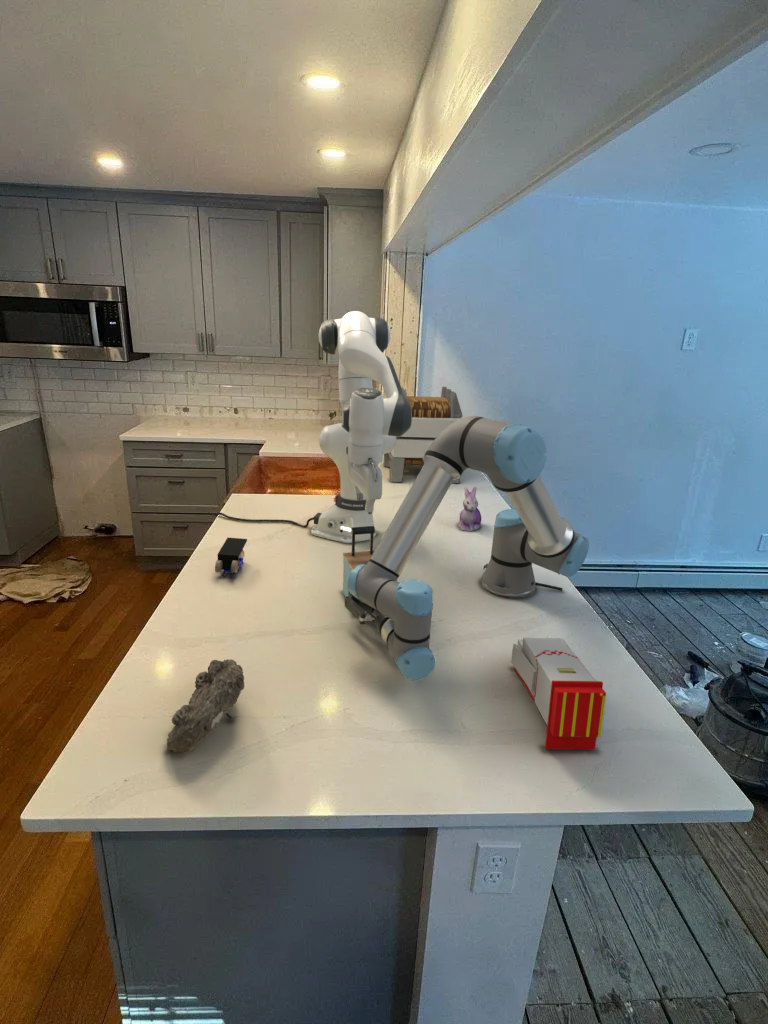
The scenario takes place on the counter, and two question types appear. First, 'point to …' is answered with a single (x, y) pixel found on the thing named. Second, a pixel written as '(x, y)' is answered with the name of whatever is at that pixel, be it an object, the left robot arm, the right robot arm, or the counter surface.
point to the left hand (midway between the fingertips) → (363, 505)
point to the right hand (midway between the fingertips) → (369, 584)
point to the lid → (362, 556)
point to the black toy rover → (230, 556)
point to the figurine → (470, 512)
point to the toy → (561, 692)
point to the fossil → (206, 705)
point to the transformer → (422, 430)
